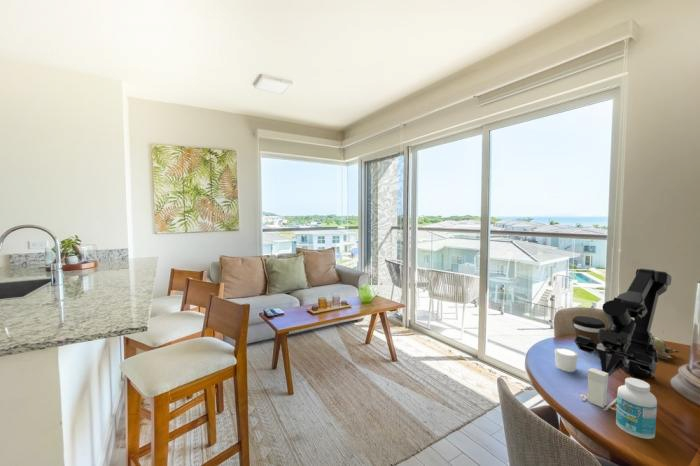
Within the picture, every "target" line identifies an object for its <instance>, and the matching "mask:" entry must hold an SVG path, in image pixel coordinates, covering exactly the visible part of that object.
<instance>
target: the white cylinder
mask: <svg viewBox="0 0 700 466" xmlns="http://www.w3.org/2000/svg"><path fill="white" fill-rule="evenodd" d="M554 356H555V357H554V359H555V366H556V368H557V369H558V370H561V371H564V372H568V373H573V372H575V371H576V370H577V363H578V358H579V354H578V352H576V351H575V350H572V349H570V348H564V347H556V348H555V349H554Z"/></svg>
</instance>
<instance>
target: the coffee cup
mask: <svg viewBox="0 0 700 466" xmlns="http://www.w3.org/2000/svg"><path fill="white" fill-rule="evenodd" d="M571 322H572V323H573V324H574V325H573V328H574V334H575V335H574V336H575V338H576V337H577V336H579V335H581V336H584V337H588V338H591V339H592V341H593V342H594V343H595V344H600V345H601V343H600V339H597V338H598V333H599V329H603V330H604V329H605V328H606V324H605V322H604V321H603V320H601V319H598V318H594V317H592V316H582V315H581V316H580V315H578V316H576V315H575V316H574V317H573V318H572V320H571ZM594 352H595V350H594Z"/></svg>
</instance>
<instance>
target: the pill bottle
mask: <svg viewBox="0 0 700 466" xmlns="http://www.w3.org/2000/svg"><path fill="white" fill-rule="evenodd" d="M650 391H651V385H650V384H649V383H648V382H646V381H644V380H642V379H640V378H636V377H626V378H625V379H624V384H623V385H620V386H618V388H617V395H616V398H617V402H616V404H617V405H616V409H617V410H616V412H615V413H616V414H615V415H616V416H615V424H616V426H617V427H618V428H619V429H621V430H622V431H623V432H625V433H627V434H628V435H631V436H633V437H636V438H641V439H647V440H650V439H654V438H655V437H656V429H657V428H656V426H657V424H656V423H657V412H658V411H657V410H658V408H657V407H658V400H657V398H656V396H655V394H653V393H652V392H650Z"/></svg>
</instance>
